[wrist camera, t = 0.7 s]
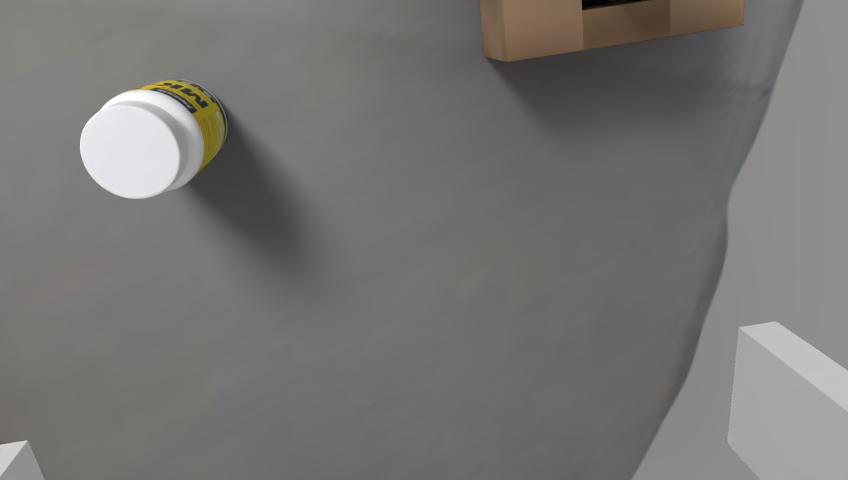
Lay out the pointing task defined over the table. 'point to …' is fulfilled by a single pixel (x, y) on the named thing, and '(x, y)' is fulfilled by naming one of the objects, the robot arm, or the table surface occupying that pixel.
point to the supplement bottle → (153, 138)
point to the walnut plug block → (594, 24)
